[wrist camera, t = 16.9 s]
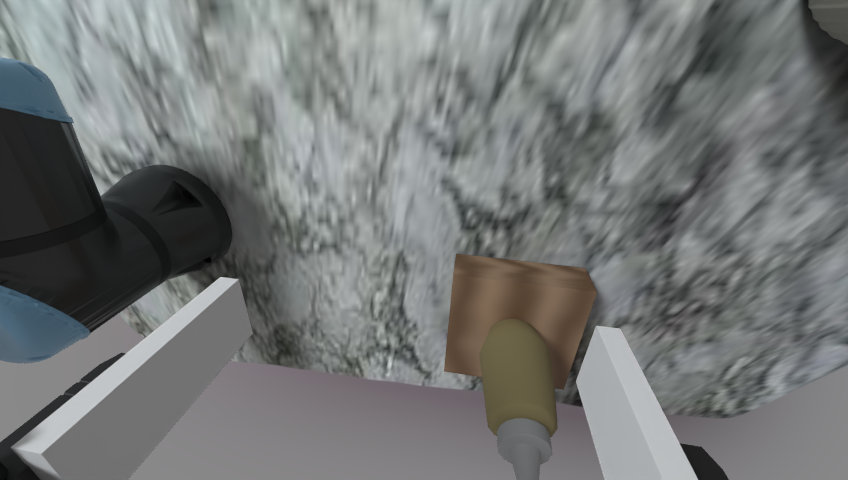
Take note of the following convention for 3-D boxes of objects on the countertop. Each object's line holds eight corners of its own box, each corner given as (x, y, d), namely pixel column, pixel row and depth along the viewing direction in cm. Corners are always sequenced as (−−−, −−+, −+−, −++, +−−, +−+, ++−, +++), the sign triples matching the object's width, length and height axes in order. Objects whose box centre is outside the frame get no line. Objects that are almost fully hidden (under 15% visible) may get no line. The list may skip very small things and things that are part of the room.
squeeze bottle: (559, 327, 40) (608, 495, 25) (524, 368, 44) (546, 536, 29) (499, 300, 40) (509, 453, 24) (468, 343, 44) (460, 501, 28)
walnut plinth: (447, 344, 51) (444, 371, 47) (456, 253, 44) (453, 275, 39) (556, 360, 49) (563, 389, 45) (585, 268, 42) (597, 292, 38)
